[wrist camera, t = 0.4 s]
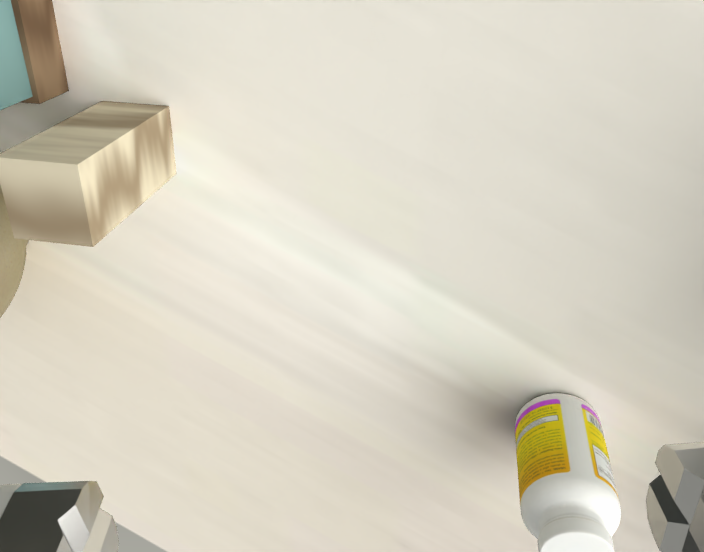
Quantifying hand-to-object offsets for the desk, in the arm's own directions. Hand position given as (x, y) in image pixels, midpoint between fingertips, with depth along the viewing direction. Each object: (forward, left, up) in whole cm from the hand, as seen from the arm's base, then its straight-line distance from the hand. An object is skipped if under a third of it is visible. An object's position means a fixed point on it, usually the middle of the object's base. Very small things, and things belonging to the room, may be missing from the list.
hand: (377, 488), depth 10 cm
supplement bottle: (+29, +11, -36) cm, 47 cm away
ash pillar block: (+8, -22, -36) cm, 43 cm away
